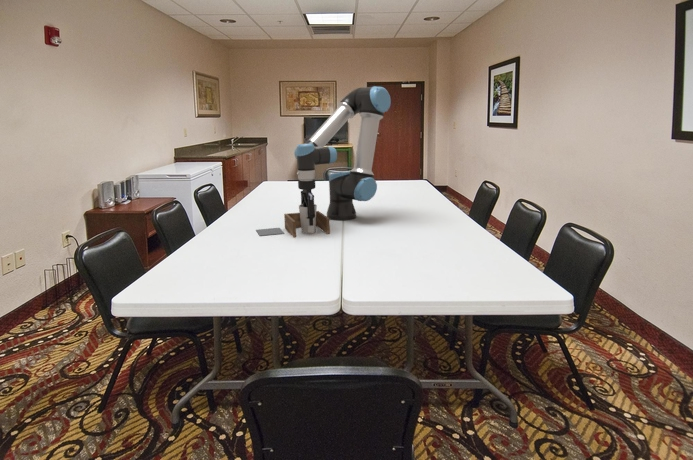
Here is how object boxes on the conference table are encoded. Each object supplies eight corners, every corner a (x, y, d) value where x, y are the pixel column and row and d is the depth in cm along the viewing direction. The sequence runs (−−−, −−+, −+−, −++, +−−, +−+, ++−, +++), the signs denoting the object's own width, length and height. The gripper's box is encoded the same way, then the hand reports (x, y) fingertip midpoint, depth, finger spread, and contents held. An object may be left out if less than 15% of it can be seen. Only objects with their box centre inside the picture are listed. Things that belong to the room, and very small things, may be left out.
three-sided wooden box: (318, 225, 226) (318, 211, 224) (329, 233, 210) (329, 218, 209) (284, 228, 221) (284, 213, 219) (293, 237, 205) (292, 221, 203)
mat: (279, 228, 221) (279, 227, 221) (284, 233, 211) (284, 233, 211) (255, 230, 218) (255, 229, 218) (259, 236, 208) (259, 235, 208)
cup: (314, 234, 209) (313, 207, 206) (297, 233, 210) (296, 207, 207) (319, 229, 216) (318, 203, 213) (302, 229, 218) (301, 203, 215)
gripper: (292, 177, 216) (295, 226, 221) (304, 183, 197) (306, 236, 203) (308, 176, 218) (310, 224, 224) (321, 182, 199) (323, 234, 205)
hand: (308, 230), depth 213 cm, fingers closed on cup, 7 cm apart
